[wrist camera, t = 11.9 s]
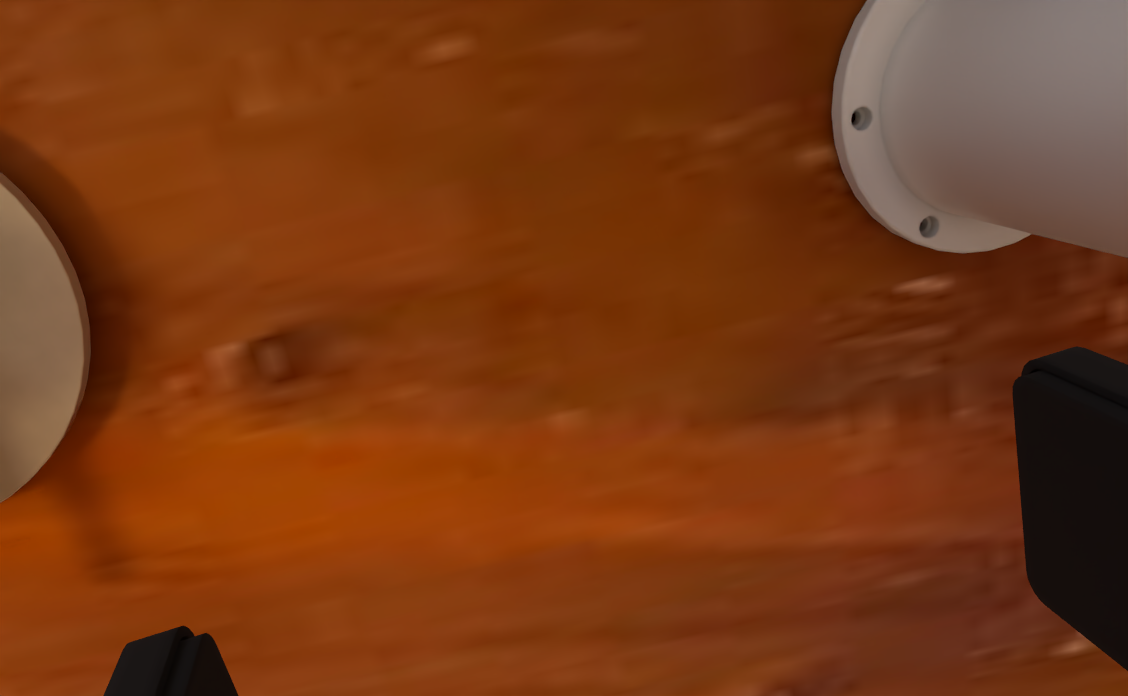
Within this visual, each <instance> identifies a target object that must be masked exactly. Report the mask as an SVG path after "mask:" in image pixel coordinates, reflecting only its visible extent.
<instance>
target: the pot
mask: <svg viewBox="0 0 1128 696" xmlns="http://www.w3.org/2000/svg"><path fill="white" fill-rule="evenodd" d="M90 357H91V342H90V324H89V319H88V313H87V308H86V302H85V298H84V295H83V292H82V289H81V286H80V283H79V280H78V277H77V274H76V271H75V269H74V267H73V265H72V263H71V261H70V259H69V257H68V255H67V253H66V251H65V249H64V247H63V245H62V243H61V242H60V240H59V239H58V237H57V235H56V234H55V232H54V231H53V229H52V228H51V226H50V225H49V223H48V222H47V220H46V219H45V218H44V216H43V215H42V214H41V213H40V212H39V211H38V209H37V208H36V207H35V206H34V205H33V203H32V202H31V201H30V200H29V199H28V198H27V196H26V195H25V194H24V193H23V192H22V191H21V190H20V189H19V188H17V187H16V186H15V185H14V184H13V183H12V182H11V181H10V180H9V179H8V178H7V177H6V176H5V175H4V174H3V173H1V172H0V503H1V502H3V501H4V500H6V499H7V498H9V497H10V496H12V495H13V494H14V493H15V492H16V491H18V490H19V489H20V488H21V487H22V486H23V485H25V484H26V483H27V482H28V481H29V480H30V479H32V478H33V476H34V475H35V474H36V473H37V472H38V471H39V470H40V468H41V467H42V466H43V465H44V464H45V463H46V462H47V460H48V459H49V458H50V457H51V456H52V454H53V453H54V452H55V451H56V450H57V448H58V447H59V445H60V443H61V442H62V440H63V439H64V437H65V436H66V434H67V433H68V431H69V429H70V428H71V426H72V424H73V421H74V419H75V417H76V415H77V412H78V410H79V408H80V406H81V403H82V399H83V395H84V392H85V388H86V384H87V381H88V374H89V365H90Z"/></svg>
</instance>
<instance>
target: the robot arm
mask: <svg viewBox="0 0 1128 696" xmlns="http://www.w3.org/2000/svg"><path fill="white" fill-rule="evenodd" d="M853 113H855V116H856V117H855V121H854V122H853V123H852V122H851V118H852V114H853ZM831 114H832V124H833V134H834V144H835V147H836V151H837V154H838V158H839V161H840V165H841V168H842V172H843V174H844V176H845V178H846V180H847V181H848V183H849V185H850V187H851V189H852V191H853V193H854V195H855V197H856V198H857V199H858V200H859V202H860V203H861V204H862V205H863V207H864V208H865V209H866V210H867V212H868V213H869V214H870V215H871V216H872V217H873V218H874V219H875V220H876V221H878V222H879V223H880V224H881V225H883V226H884V227H885V228H887V229H888V230H889V231H890V232H892V233H893V234H896V235H898V236H900V237H902V238H904V239H906V240H908V241H910V242H912V243H914V244H918V245H921V246H925V247H928V248H931V249H934V250H937V251H946V252H955V253H972V252H982V251H990V250H993V249H997V248H1000V247H1003V246H1006V245H1010V244H1013V243H1016V242H1018V241H1020V240H1022V239H1023V238H1025V237H1027V236H1029V235H1031V234H1035V235H1039V236H1043V237H1047V238H1051V239H1055V240H1058V241H1062V242H1066V243H1070V244H1074V245H1078V246H1082V247H1086V248H1090V249H1094V250H1098V251H1102V252H1106V253H1110V254H1114V255H1118V256H1122V257H1126V258H1128V0H867V1H866V3H865V4H864V6H863V7H862V9H861V10H860V12H859V14H858V15H857V17H856V18H855V20H854V22H853V25H852V27H851V29H850V32H849V34H848V36H847V39H846V41H845V43H844V46H843V48H842V51H841V55H840V59H839V63H838V67H837V71H836V75H835V79H834V86H833V100H832V113H831ZM921 222H922V224H921V226H920V223H921ZM1013 405H1014V418H1015V430H1016V443H1017V456H1018V469H1019V481H1020V494H1021V507H1022V520H1023V533H1024V545H1025V558H1026V571H1027V576H1028V580H1029V582H1030V585H1031V587H1032V589H1033V591H1034V593H1035V594H1036V595H1037V597H1038V598H1039V599H1040V600H1041V601H1042V602H1043V603H1044V604H1045V605H1046V606H1047V607H1048V608H1050V609H1051V610H1052V611H1053V612H1055V613H1056V614H1057V615H1058V616H1060V617H1061V618H1062V619H1063V620H1065V621H1066V622H1067V623H1068V624H1070V625H1071V626H1072V627H1073V628H1075V629H1076V630H1077V631H1078V632H1080V633H1081V634H1082V635H1083V636H1085V637H1086V638H1087V639H1088V640H1090V641H1091V642H1092V643H1093V644H1095V645H1096V646H1097V647H1098V648H1100V649H1101V650H1102V651H1103V652H1105V653H1106V654H1107V655H1108V656H1110V657H1111V658H1112V659H1113V660H1115V661H1116V662H1117V663H1118V664H1120V665H1121V666H1122V667H1123V668H1125V669H1126V670H1127V671H1128V365H1126V364H1124V363H1121V362H1119V361H1116V360H1114V359H1111V358H1109V357H1106V356H1103V355H1101V354H1098V353H1096V352H1093V351H1091V350H1088V349H1086V348H1082V347H1073V348H1069V349H1066V350H1063V351H1060V352H1056V353H1053V354H1050V355H1047V356H1044V357H1040V358H1037V359H1034V360H1031V361H1029V362H1028V363H1027V364H1026V365H1025V366H1024V368H1023V371H1022V375H1021V377H1018V378H1017V379H1016V380H1015V382H1014V385H1013ZM104 696H238V694H237V691H236V689H235V687H234V684H233V682H232V680H231V677H230V675H229V673H228V671H227V668H226V666H225V664H224V661H223V659H222V657H221V654H220V652H219V650H218V647H217V645H216V643H215V641H214V639H213V638H212V637H211V636H210V635H209V634H207V633H204V634H201V635H198V636H194V634H193V633H192V632H191V630H190V629H189V628H187V627H185V626H181V627H178V628H174V629H171V630H168V631H165V632H162V633H158V634H155V635H152V636H149V637H146V638H142V639H139V640H136V641H133V642H130V643H128V644H127V645H126V646H125V648H124V649H123V651H122V654H121V656H120V658H119V661H118V663H117V665H116V668H115V670H114V672H113V675H112V677H111V679H110V682H109V684H108V686H107V689H106V691H105V693H104Z"/></svg>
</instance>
